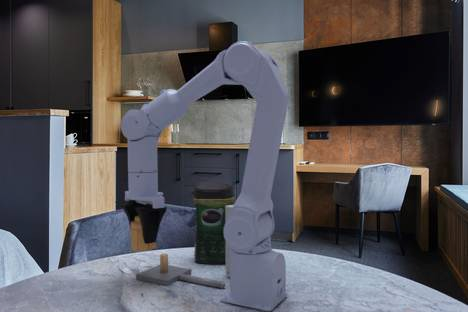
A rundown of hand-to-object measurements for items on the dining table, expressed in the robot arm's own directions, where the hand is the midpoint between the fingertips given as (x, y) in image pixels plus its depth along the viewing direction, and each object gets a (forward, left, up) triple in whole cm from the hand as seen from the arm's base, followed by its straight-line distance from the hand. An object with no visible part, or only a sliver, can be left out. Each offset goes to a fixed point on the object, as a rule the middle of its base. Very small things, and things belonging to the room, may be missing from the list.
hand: (144, 240), depth 79 cm
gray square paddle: (-7, -4, -8) cm, 12 cm away
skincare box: (-17, -13, -9) cm, 23 cm away
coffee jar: (-5, -19, -9) cm, 21 cm away
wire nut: (0, 0, -2) cm, 2 cm away
